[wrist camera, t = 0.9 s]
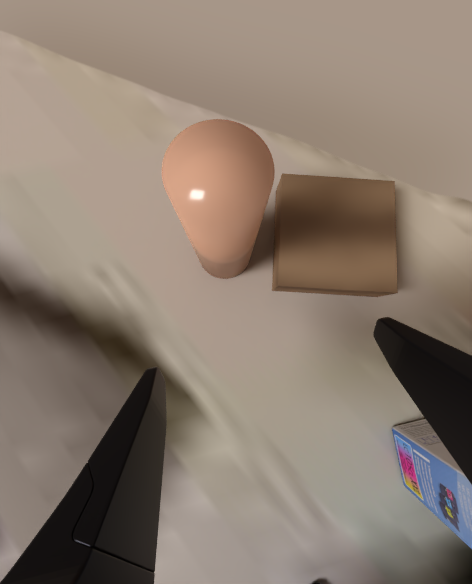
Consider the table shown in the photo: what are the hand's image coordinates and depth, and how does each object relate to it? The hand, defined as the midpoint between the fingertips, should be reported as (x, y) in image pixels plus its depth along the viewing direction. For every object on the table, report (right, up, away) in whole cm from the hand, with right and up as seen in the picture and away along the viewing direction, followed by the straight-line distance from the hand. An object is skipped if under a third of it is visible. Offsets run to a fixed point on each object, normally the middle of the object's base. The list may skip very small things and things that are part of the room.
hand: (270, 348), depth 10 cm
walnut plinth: (+7, +7, +14) cm, 18 cm away
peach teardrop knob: (-2, +6, +14) cm, 15 cm away
